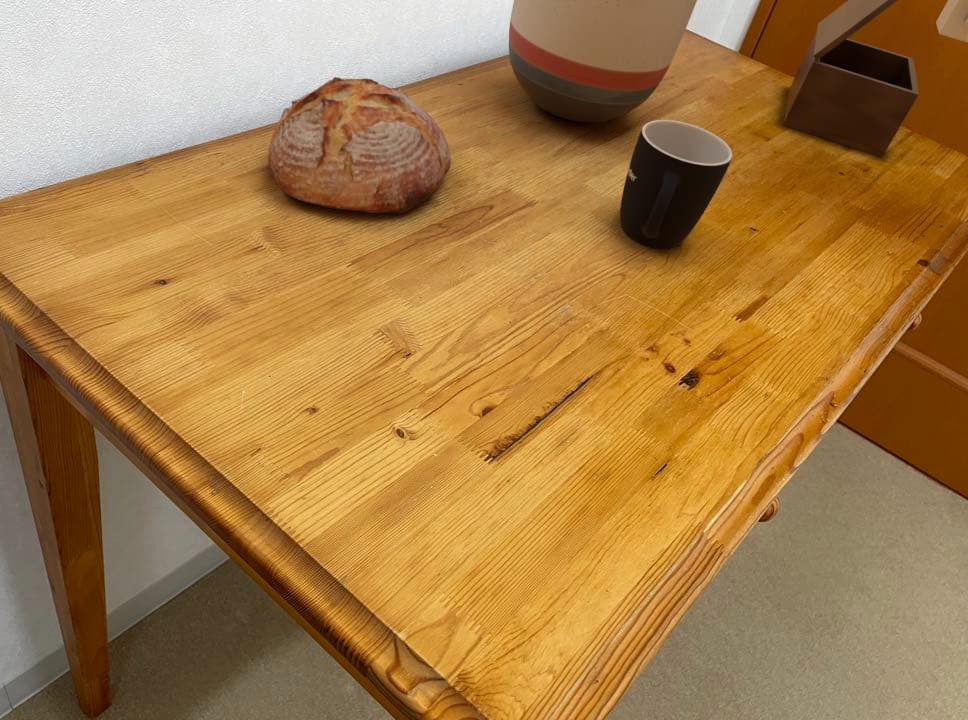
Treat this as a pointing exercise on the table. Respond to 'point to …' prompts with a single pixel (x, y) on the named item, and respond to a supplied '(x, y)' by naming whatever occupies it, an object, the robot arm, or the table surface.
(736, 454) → the table surface
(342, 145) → the bread
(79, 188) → the table surface
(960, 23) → the block
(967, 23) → the robot arm
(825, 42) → the lid
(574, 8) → the planter
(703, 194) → the mug
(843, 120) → the chest
